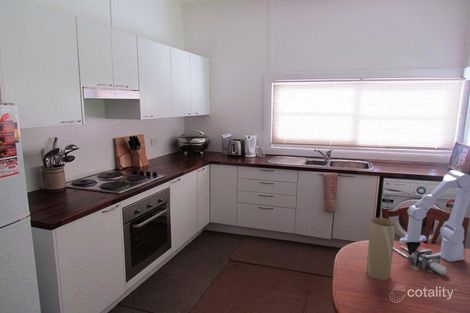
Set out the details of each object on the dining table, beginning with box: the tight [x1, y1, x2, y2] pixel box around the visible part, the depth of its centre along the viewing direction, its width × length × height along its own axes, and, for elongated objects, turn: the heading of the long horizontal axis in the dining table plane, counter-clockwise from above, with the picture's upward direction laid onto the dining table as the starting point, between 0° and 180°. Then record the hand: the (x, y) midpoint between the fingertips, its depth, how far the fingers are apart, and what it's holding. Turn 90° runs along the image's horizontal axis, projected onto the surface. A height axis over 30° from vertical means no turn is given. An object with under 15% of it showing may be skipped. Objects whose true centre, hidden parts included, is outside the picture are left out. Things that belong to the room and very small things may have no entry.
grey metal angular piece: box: [393, 245, 442, 275], centre depth 157 cm, size 12×25×7 cm, turn 15°
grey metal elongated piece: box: [410, 251, 448, 276], centre depth 151 cm, size 16×4×4 cm, turn 19°
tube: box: [365, 217, 397, 281], centre depth 143 cm, size 10×10×25 cm
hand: (411, 254), depth 161 cm, fingers closed, pressing on grey metal elongated piece
